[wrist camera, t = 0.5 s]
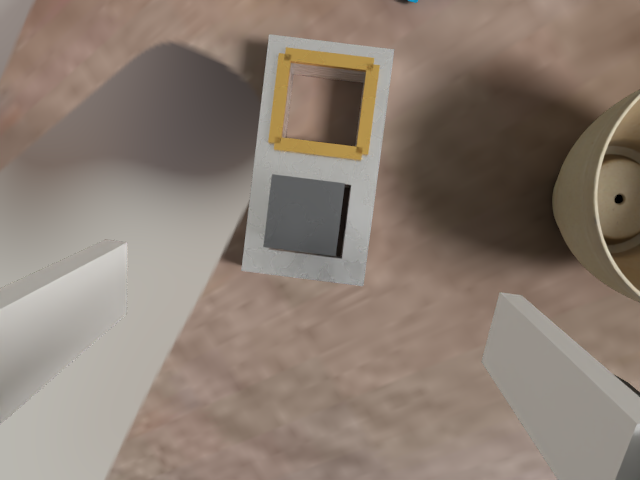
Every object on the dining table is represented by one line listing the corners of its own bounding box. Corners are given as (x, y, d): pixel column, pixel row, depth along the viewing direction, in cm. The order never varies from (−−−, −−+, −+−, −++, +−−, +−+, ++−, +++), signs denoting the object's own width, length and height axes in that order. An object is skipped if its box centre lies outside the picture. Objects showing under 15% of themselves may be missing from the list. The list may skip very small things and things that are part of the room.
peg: (332, 246, 35) (335, 256, 24) (282, 239, 35) (263, 246, 24) (339, 195, 35) (344, 183, 24) (288, 189, 35) (271, 174, 24)
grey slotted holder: (360, 281, 35) (363, 286, 33) (247, 267, 36) (240, 271, 33) (389, 62, 35) (395, 47, 32) (273, 47, 35) (268, 32, 32)
